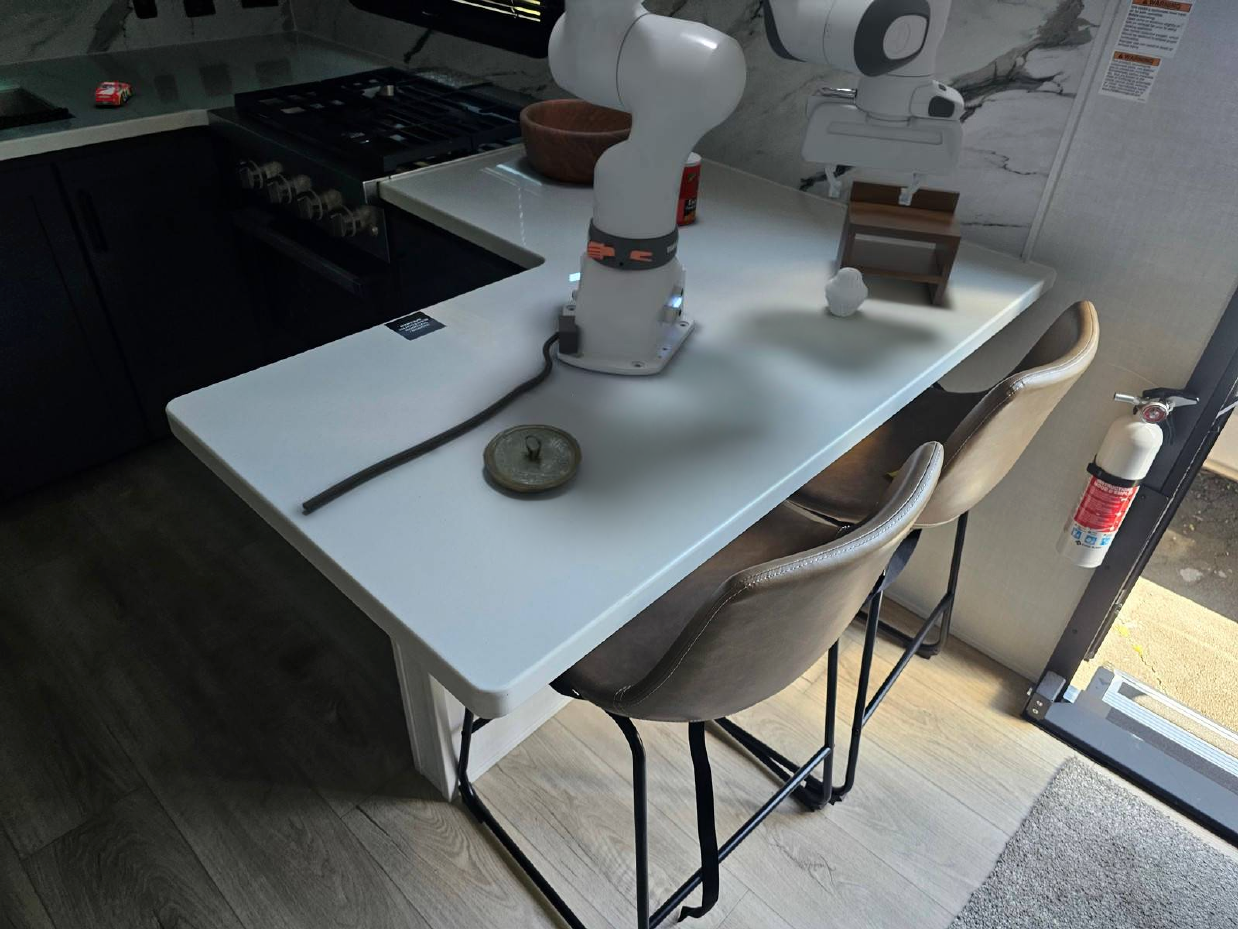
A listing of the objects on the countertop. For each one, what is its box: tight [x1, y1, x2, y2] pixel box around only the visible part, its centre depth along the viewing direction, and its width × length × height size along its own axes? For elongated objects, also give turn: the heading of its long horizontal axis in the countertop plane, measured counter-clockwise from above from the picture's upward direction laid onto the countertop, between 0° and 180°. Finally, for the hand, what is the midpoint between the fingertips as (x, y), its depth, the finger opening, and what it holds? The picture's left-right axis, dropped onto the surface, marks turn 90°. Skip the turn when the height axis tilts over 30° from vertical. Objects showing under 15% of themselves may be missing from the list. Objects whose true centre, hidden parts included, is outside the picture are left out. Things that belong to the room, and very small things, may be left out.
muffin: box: [824, 268, 869, 318], centre depth 124 cm, size 6×6×7 cm
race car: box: [94, 81, 133, 106], centre depth 192 cm, size 13×5×4 cm, turn 9°
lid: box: [482, 423, 583, 493], centre depth 91 cm, size 11×10×5 cm
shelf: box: [834, 178, 963, 306], centre depth 131 cm, size 11×16×14 cm
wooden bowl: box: [519, 98, 632, 184], centre depth 170 cm, size 25×25×10 cm
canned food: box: [676, 151, 702, 226], centre depth 150 cm, size 8×8×11 cm
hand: (868, 199), depth 116 cm, fingers open, 8 cm apart
